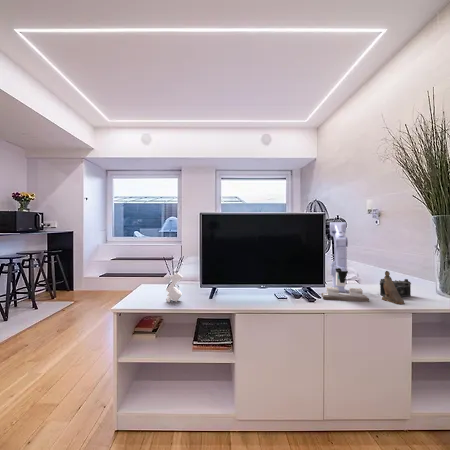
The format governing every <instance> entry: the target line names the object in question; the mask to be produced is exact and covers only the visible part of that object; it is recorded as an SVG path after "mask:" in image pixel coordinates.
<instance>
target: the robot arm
mask: <svg viewBox="0 0 450 450" xmlns="http://www.w3.org/2000/svg"><path fill="white" fill-rule="evenodd" d="M346 231H347V223H346V221H343V222H342V221H334V222H333V221H330V222H329V235H330V236H331V237H333V243H334V244H333V247H334V249H333V250H334V261H332V262H331V263H330V265H329V266H330V267H329V269H330V270H329V274H330V276H331V278H332V281H331V282H332V287H338V289H339V293H340V292H341V293H342V292H343V293H344V292H345V293H347V290H346V289H345V287H346V285H345V286H337V285H336V272H337V273H338V274H339V279H340V283H344V282H345V283H346V278H347V276H348V273H349V271H348V258H347V255H348V253H347V252H348V245H349V240H348V237H347V236H346V233H347V232H346Z"/></svg>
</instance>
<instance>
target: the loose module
mask: <svg viewBox="0 0 450 450" xmlns="http://www.w3.org/2000/svg"><path fill="white" fill-rule="evenodd" d="M336 285H337V286H345V287H346V281H345V282H344V283H340V279H339V274H338V273H337V272H336Z"/></svg>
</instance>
